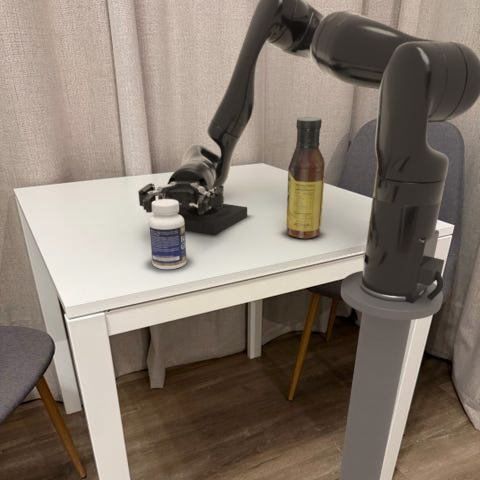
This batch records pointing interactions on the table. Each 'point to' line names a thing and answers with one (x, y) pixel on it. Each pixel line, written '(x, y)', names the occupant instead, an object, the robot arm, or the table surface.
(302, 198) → the sauce bottle
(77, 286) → the table surface
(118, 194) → the table surface
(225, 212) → the dock pad
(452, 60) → the robot arm
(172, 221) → the pill bottle
